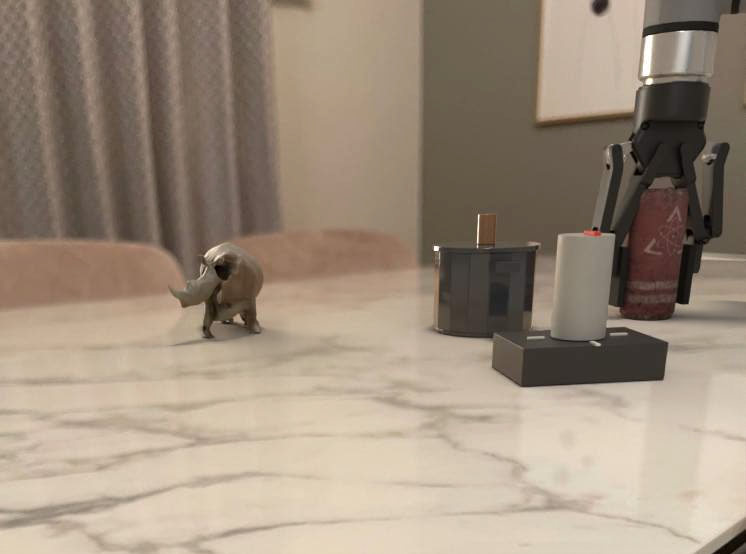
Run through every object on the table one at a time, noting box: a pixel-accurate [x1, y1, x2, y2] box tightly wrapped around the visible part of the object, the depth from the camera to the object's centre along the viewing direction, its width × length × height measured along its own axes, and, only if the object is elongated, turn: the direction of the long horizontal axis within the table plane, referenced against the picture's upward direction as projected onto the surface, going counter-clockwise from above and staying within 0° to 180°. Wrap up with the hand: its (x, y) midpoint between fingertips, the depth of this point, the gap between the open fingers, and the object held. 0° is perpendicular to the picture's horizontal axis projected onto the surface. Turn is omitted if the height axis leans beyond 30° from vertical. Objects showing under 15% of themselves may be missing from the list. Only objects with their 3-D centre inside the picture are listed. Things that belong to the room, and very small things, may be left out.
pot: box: [433, 250, 538, 338], centre depth 92 cm, size 11×16×8 cm, turn 8°
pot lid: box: [431, 212, 542, 253], centre depth 90 cm, size 11×11×4 cm
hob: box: [491, 326, 669, 387], centre depth 71 cm, size 12×9×3 cm
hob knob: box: [550, 229, 615, 341], centre depth 69 cm, size 4×4×8 cm
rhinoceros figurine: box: [167, 241, 265, 339], centre depth 94 cm, size 8×14×15 cm
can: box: [618, 186, 689, 321], centre depth 97 cm, size 6×6×14 cm
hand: (647, 304), depth 99 cm, fingers open, 7 cm apart
